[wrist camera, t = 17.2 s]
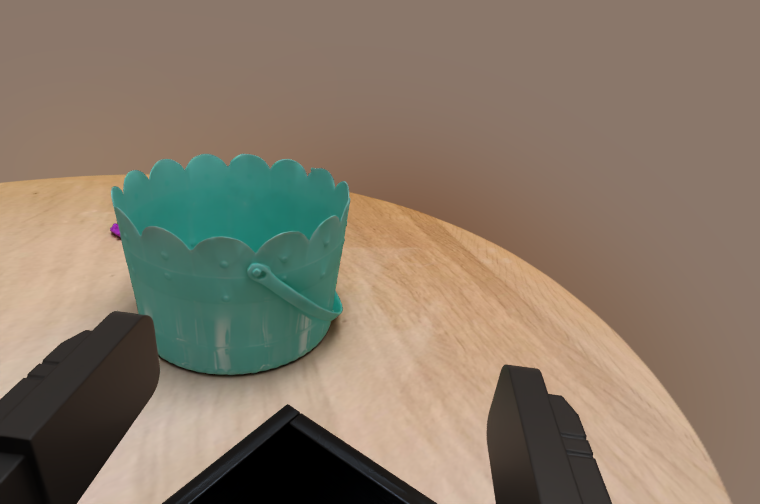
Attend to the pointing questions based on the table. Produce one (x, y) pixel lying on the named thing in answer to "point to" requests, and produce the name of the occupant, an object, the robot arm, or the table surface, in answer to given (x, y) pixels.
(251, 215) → the basket
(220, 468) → the waste bin
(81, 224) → the table surface
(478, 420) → the table surface
